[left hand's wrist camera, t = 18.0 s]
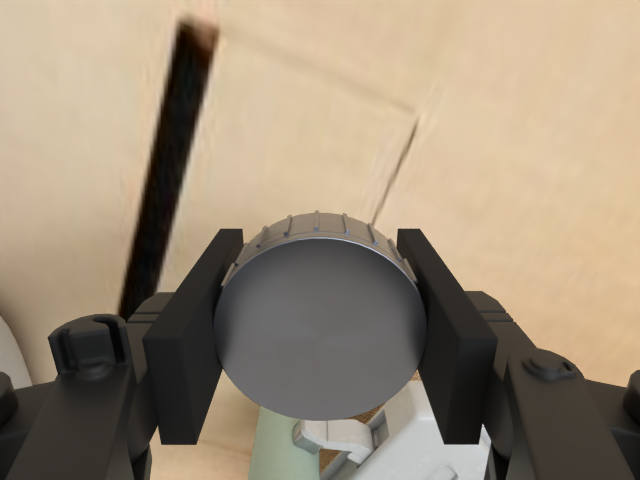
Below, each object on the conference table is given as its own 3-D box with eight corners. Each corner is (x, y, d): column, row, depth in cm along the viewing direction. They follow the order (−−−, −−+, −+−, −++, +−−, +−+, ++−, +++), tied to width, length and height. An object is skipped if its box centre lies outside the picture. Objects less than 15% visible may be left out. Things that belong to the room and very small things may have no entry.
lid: (188, 307, 12) (164, 346, 10) (310, 167, 11) (308, 183, 9) (327, 404, 13) (328, 454, 11) (453, 291, 12) (477, 328, 10)
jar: (306, 363, 33) (297, 581, 18) (327, 405, 34) (334, 636, 20) (254, 380, 33) (205, 605, 19) (276, 421, 35) (248, 656, 21)
